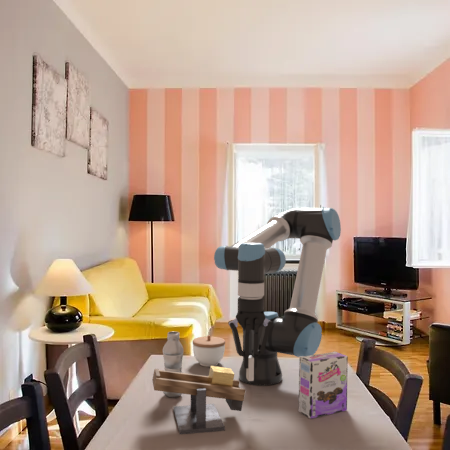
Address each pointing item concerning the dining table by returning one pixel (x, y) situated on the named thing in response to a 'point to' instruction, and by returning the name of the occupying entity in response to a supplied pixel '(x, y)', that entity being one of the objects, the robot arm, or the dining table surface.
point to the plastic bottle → (173, 357)
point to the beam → (198, 387)
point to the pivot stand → (198, 415)
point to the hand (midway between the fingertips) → (249, 379)
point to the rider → (220, 376)
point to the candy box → (322, 384)
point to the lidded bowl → (208, 350)
